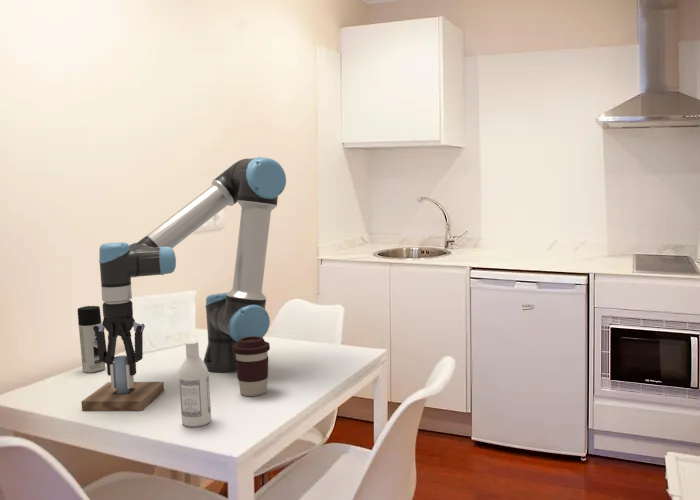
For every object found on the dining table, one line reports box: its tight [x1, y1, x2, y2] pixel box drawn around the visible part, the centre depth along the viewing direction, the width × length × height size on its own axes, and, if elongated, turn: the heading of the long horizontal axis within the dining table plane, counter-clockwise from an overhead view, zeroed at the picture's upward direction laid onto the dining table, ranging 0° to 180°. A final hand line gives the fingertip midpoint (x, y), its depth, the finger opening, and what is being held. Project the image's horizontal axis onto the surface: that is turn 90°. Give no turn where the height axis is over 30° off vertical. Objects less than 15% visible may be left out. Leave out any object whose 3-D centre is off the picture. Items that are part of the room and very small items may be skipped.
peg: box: [113, 355, 130, 394], centre depth 182 cm, size 4×4×12 cm
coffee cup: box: [233, 336, 271, 397], centre depth 185 cm, size 10×10×15 cm
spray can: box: [77, 305, 106, 374], centre depth 211 cm, size 7×7×20 cm
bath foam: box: [178, 340, 212, 428], centre depth 164 cm, size 7×7×20 cm
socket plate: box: [80, 381, 165, 412], centre depth 183 cm, size 16×16×2 cm
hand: (122, 386), depth 182 cm, fingers closed on peg, 4 cm apart
